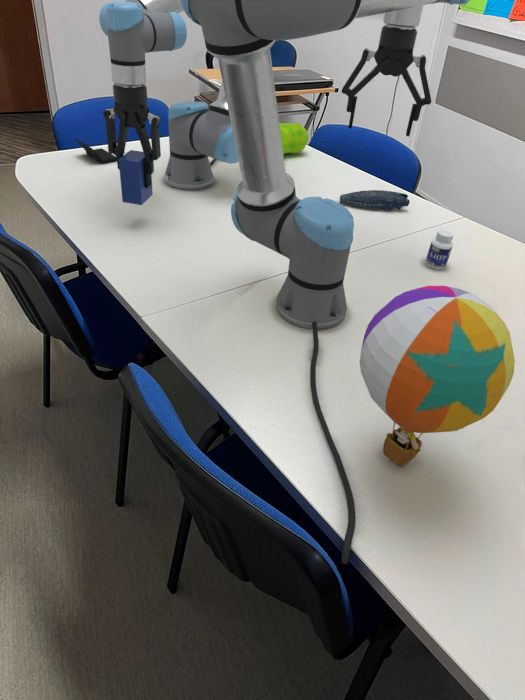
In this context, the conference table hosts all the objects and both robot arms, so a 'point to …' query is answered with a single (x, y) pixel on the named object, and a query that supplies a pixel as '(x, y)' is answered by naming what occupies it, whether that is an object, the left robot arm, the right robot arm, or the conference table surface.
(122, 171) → the brick
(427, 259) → the pill bottle
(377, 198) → the fish model
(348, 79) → the right robot arm
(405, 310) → the toy
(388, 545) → the conference table surface
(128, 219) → the conference table surface
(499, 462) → the conference table surface
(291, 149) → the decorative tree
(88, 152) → the black handled piece
